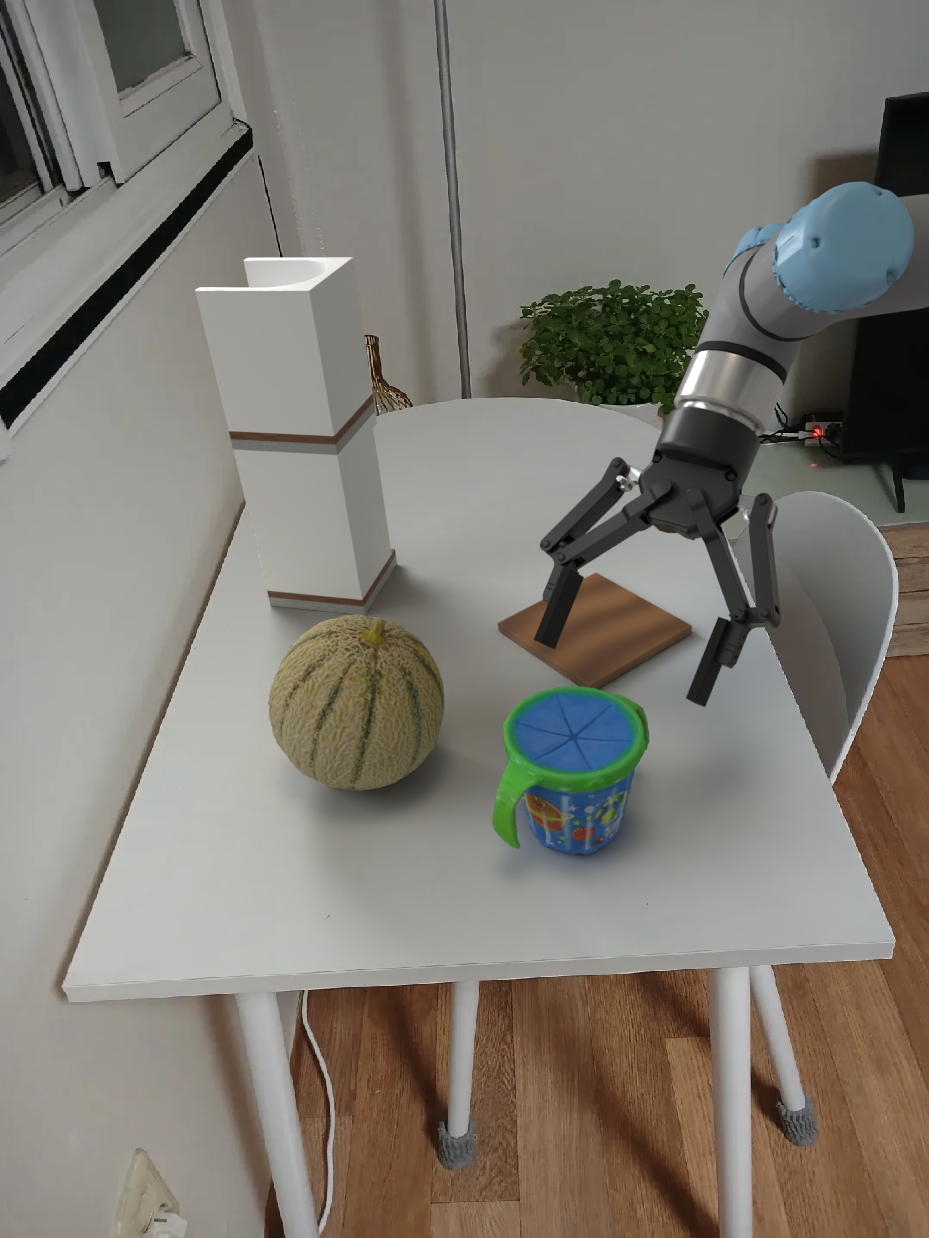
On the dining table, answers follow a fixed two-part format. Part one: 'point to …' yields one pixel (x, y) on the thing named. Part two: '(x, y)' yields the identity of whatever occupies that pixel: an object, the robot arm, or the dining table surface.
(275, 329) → the striped white pillar
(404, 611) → the dining table surface
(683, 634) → the wooden board
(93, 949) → the dining table surface
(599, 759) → the snack cup
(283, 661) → the cantaloupe
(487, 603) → the dining table surface
